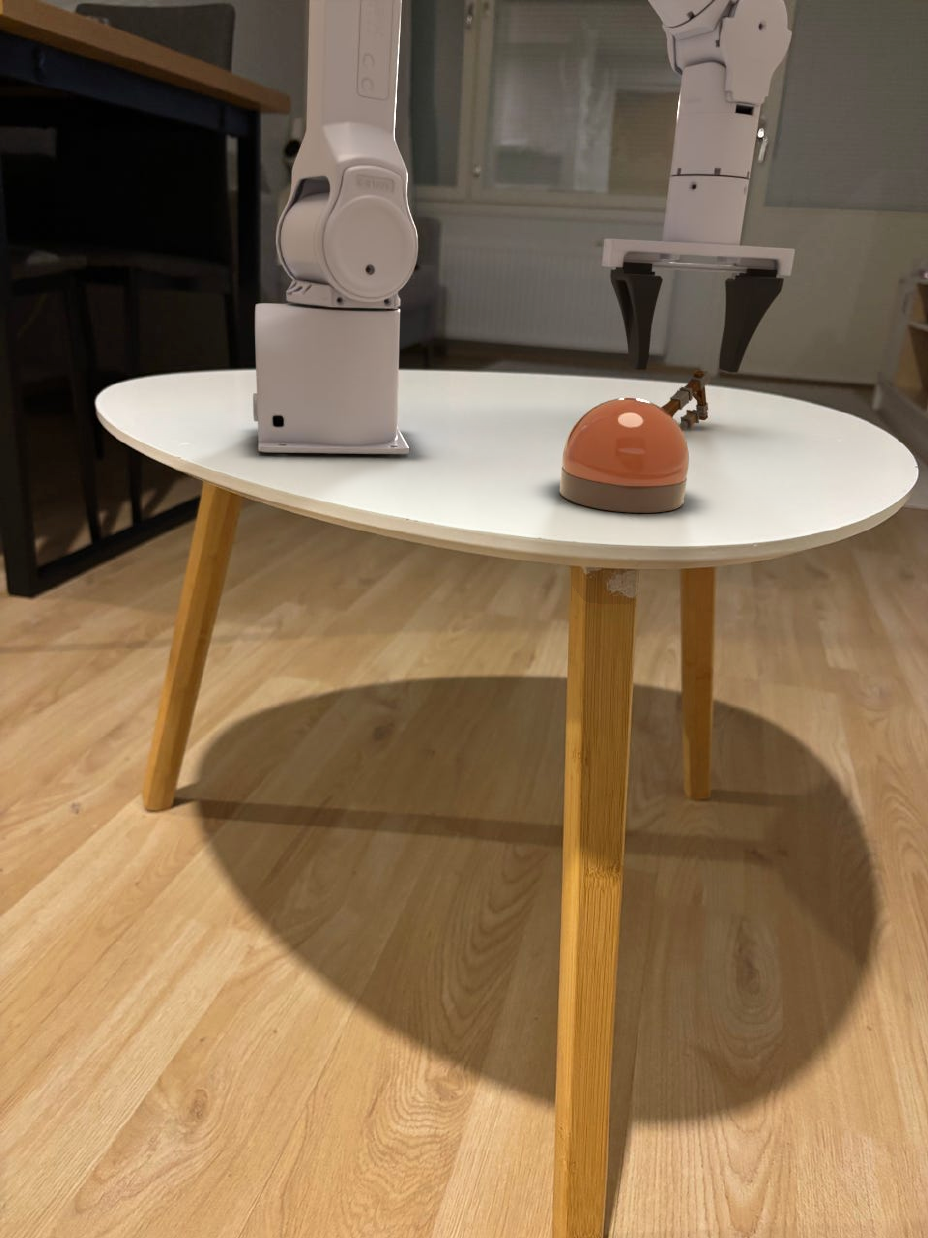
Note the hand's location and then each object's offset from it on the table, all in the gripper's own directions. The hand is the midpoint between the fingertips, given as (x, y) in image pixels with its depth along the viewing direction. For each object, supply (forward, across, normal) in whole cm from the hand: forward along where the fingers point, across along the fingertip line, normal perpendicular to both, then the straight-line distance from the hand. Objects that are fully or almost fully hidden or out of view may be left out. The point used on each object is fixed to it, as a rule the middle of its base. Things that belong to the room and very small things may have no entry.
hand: (683, 369), depth 72 cm
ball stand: (+6, +12, +21) cm, 25 cm away
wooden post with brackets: (+5, 0, 0) cm, 5 cm away
